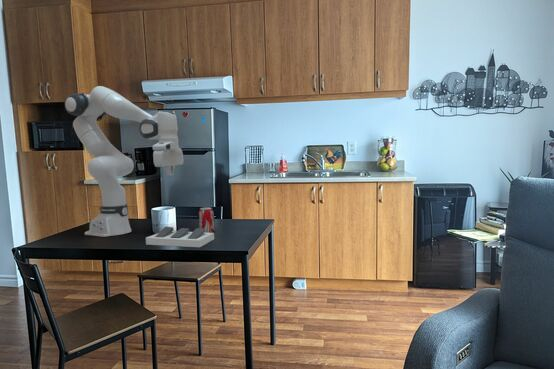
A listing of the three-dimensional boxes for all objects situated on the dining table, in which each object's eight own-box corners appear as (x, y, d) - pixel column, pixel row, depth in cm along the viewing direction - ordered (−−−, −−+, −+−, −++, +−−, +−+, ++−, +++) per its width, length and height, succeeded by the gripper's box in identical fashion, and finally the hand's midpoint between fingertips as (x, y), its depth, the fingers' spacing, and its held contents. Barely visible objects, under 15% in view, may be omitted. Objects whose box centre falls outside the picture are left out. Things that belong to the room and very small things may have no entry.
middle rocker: (171, 239, 164) (170, 236, 164) (181, 231, 173) (180, 228, 172) (179, 240, 163) (178, 237, 163) (189, 231, 172) (188, 228, 171)
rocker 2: (187, 241, 162) (187, 238, 162) (197, 231, 170) (196, 228, 170) (196, 241, 161) (195, 238, 161) (205, 231, 169) (204, 228, 169)
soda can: (211, 233, 182) (210, 209, 181) (197, 233, 184) (196, 209, 183) (216, 230, 189) (215, 207, 188) (203, 230, 191) (202, 207, 189)
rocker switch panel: (146, 244, 165) (145, 237, 165) (164, 237, 178) (163, 230, 178) (199, 247, 158) (199, 240, 158) (214, 239, 171) (213, 232, 171)
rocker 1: (155, 240, 167) (154, 236, 166) (166, 229, 175) (165, 226, 174) (163, 240, 166) (162, 237, 165) (173, 230, 174) (172, 227, 173)
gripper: (174, 146, 186) (176, 173, 187) (150, 146, 166) (151, 177, 168) (186, 145, 184) (187, 173, 185) (162, 145, 164) (164, 177, 166)
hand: (170, 175), depth 176 cm, fingers closed
